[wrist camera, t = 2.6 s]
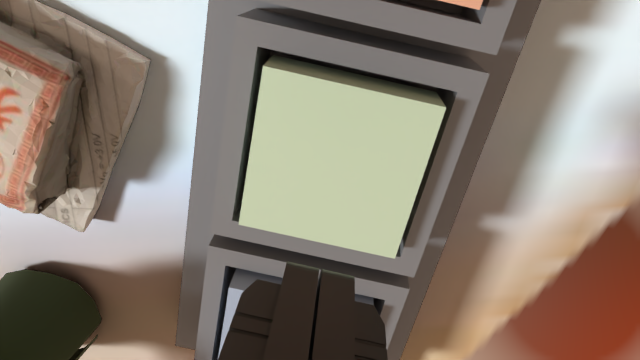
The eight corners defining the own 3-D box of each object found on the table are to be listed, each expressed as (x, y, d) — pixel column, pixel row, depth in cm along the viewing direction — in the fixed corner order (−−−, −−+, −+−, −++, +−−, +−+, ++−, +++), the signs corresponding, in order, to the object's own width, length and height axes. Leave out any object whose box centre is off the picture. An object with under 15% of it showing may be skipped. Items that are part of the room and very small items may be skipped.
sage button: (273, 55, 16) (263, 65, 14) (436, 92, 16) (446, 107, 15) (249, 199, 19) (238, 224, 17) (391, 230, 19) (394, 258, 17)
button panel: (257, -320, 15) (213, -446, 10) (609, -234, 15) (715, -319, 11) (187, 320, 27) (153, 391, 22) (385, 362, 27) (391, 441, 23)
